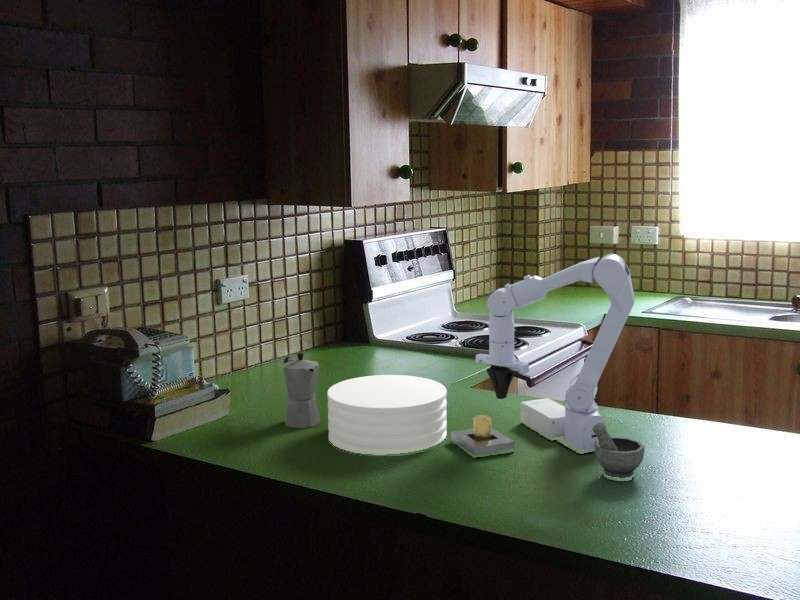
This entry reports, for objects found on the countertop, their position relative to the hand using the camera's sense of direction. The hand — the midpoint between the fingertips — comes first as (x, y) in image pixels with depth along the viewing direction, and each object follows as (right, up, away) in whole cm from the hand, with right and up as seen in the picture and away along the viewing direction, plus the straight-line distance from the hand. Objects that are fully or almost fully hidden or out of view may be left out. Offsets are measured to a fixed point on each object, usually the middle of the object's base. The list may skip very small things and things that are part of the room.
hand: (501, 397), depth 201 cm
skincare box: (+10, -4, +13) cm, 17 cm away
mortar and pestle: (+21, -14, -23) cm, 34 cm away
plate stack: (-27, -10, +4) cm, 29 cm away
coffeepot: (-49, -8, +16) cm, 52 cm away
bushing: (-5, -11, -4) cm, 12 cm away
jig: (-5, -11, -4) cm, 13 cm away
